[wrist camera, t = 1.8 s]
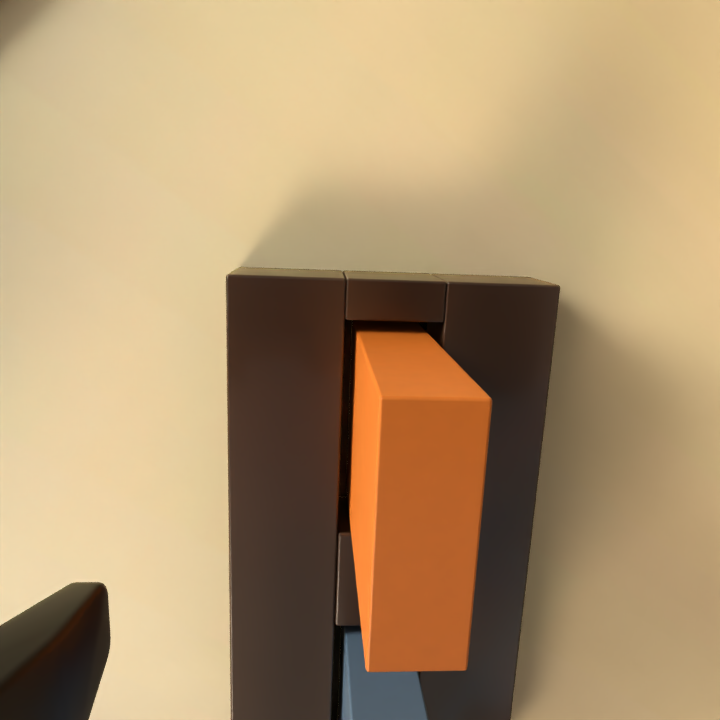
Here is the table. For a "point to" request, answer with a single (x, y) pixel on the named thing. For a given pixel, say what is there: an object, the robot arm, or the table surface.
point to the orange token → (414, 496)
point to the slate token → (374, 686)
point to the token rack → (322, 471)
